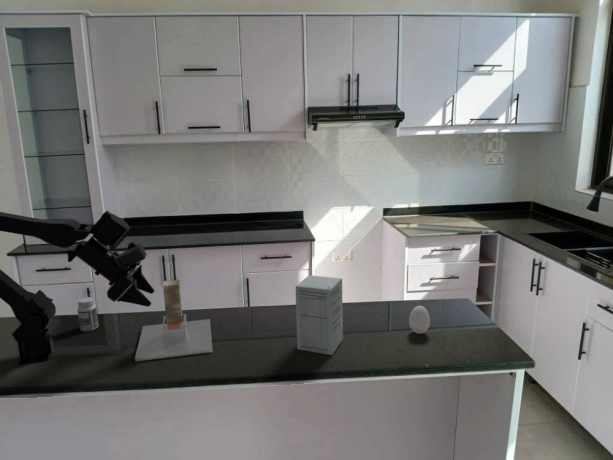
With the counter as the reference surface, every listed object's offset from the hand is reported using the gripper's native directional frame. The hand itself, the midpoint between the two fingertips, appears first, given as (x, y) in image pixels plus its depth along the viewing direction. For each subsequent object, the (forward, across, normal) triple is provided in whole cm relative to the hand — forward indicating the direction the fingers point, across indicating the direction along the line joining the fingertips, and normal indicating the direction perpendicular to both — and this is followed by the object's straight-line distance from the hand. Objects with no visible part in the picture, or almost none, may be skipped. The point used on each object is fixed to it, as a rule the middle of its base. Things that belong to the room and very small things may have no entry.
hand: (151, 298), depth 117 cm
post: (+8, 0, +1) cm, 8 cm away
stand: (+12, 0, +5) cm, 13 cm away
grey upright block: (+37, -12, -21) cm, 44 cm away
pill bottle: (-4, +15, +22) cm, 27 cm away
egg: (+56, -12, -40) cm, 70 cm away
